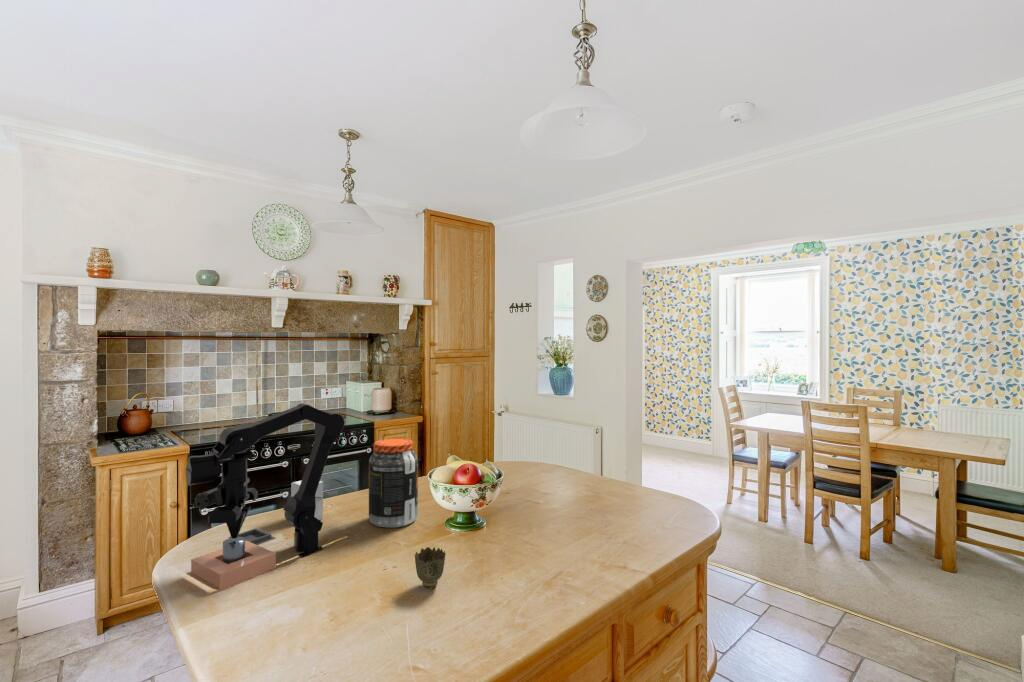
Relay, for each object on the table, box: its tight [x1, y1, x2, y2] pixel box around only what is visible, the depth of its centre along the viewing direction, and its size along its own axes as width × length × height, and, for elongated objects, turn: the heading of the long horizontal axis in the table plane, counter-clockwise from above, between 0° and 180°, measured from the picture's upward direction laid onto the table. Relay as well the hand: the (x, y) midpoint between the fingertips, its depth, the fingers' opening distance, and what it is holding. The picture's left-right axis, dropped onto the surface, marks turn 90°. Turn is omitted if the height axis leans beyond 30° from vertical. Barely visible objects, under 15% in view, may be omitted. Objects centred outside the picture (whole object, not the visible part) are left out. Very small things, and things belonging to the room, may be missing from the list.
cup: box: [414, 546, 447, 589], centre depth 122 cm, size 8×7×8 cm
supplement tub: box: [368, 437, 419, 528], centre depth 164 cm, size 16×16×26 cm
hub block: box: [190, 540, 277, 592], centre depth 128 cm, size 14×14×4 cm
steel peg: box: [222, 537, 245, 564], centre depth 128 cm, size 5×5×8 cm
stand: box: [228, 527, 277, 546], centre depth 146 cm, size 10×10×2 cm
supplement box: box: [290, 479, 324, 521], centre depth 164 cm, size 7×7×13 cm
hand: (234, 537), depth 128 cm, fingers closed
